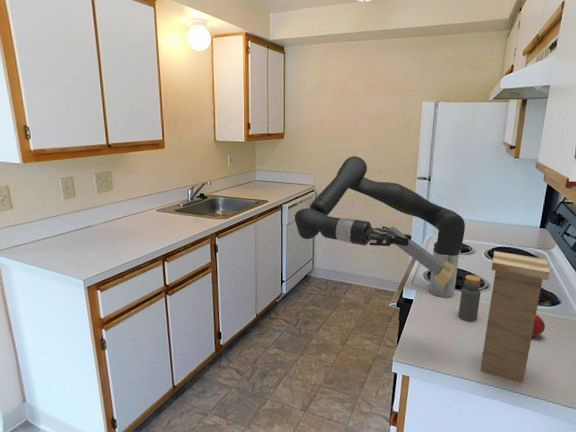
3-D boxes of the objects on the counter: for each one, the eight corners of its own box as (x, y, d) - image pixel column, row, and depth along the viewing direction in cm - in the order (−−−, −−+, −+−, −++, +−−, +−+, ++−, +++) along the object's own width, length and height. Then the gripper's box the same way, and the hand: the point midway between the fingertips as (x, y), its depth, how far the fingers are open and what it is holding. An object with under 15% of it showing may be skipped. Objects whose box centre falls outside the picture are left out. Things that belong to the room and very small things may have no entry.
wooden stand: (478, 352, 111) (494, 251, 103) (526, 365, 105) (546, 259, 97) (476, 371, 103) (492, 262, 95) (527, 387, 97) (549, 272, 89)
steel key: (390, 230, 116) (395, 223, 115) (448, 274, 110) (455, 267, 109) (380, 239, 108) (386, 231, 107) (443, 286, 102) (450, 279, 100)
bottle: (478, 322, 128) (484, 281, 124) (460, 320, 129) (465, 280, 125) (474, 314, 133) (479, 274, 130) (456, 312, 135) (461, 273, 131)
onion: (544, 335, 120) (549, 313, 118) (539, 342, 116) (544, 319, 114) (524, 328, 124) (528, 306, 122) (518, 335, 120) (522, 312, 118)
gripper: (360, 237, 124) (413, 246, 116) (344, 249, 112) (402, 260, 104) (361, 215, 122) (416, 222, 114) (345, 225, 111) (404, 234, 102)
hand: (409, 240), depth 109 cm, fingers closed on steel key, 3 cm apart
